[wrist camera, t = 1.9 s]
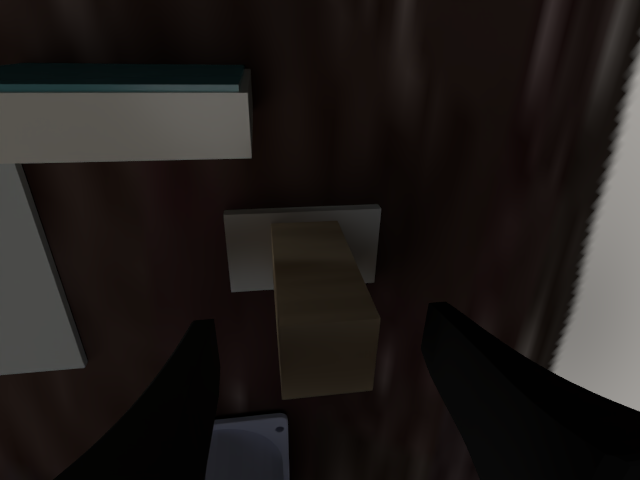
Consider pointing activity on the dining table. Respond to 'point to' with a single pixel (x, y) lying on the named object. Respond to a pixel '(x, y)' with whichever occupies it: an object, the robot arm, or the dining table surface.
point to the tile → (124, 112)
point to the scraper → (313, 290)
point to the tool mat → (31, 288)
